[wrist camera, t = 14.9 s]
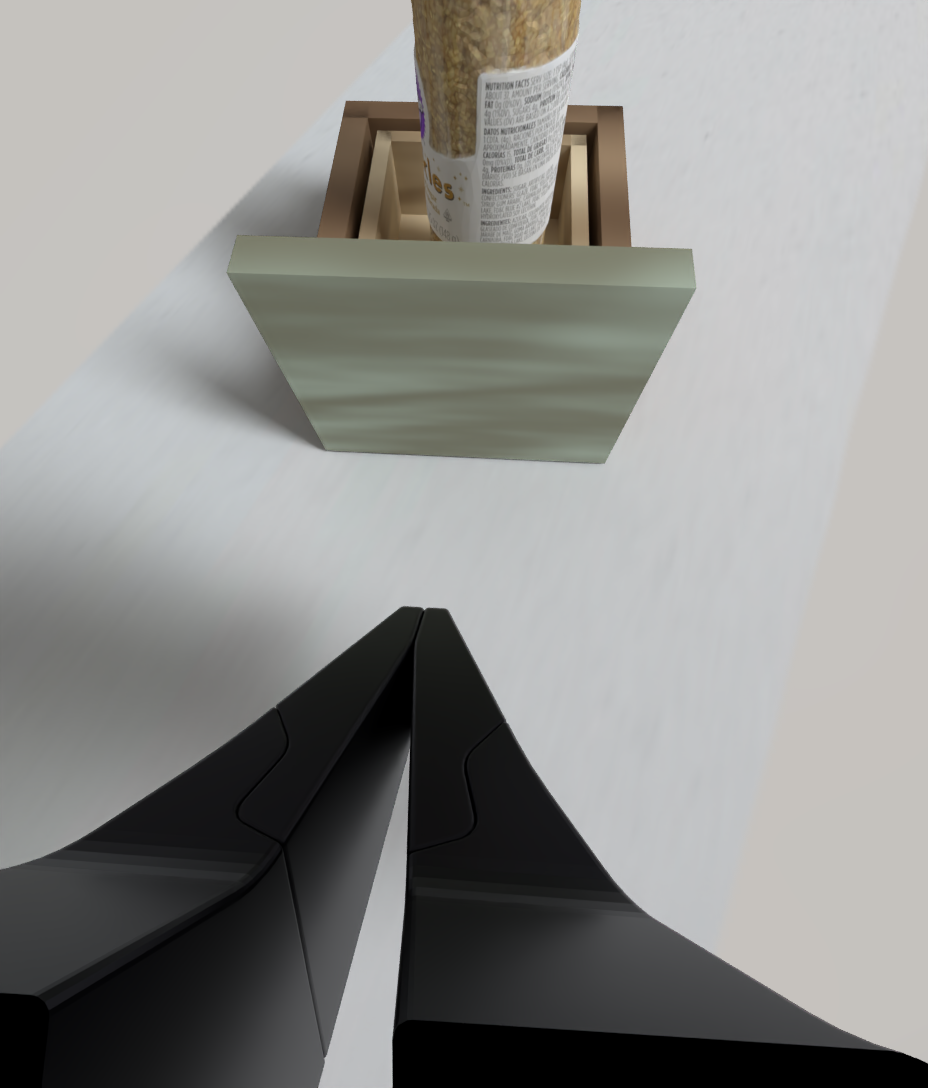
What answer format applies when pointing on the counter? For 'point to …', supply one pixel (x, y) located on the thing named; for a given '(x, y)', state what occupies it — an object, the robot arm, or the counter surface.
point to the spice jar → (492, 113)
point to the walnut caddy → (369, 116)
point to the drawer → (463, 324)
